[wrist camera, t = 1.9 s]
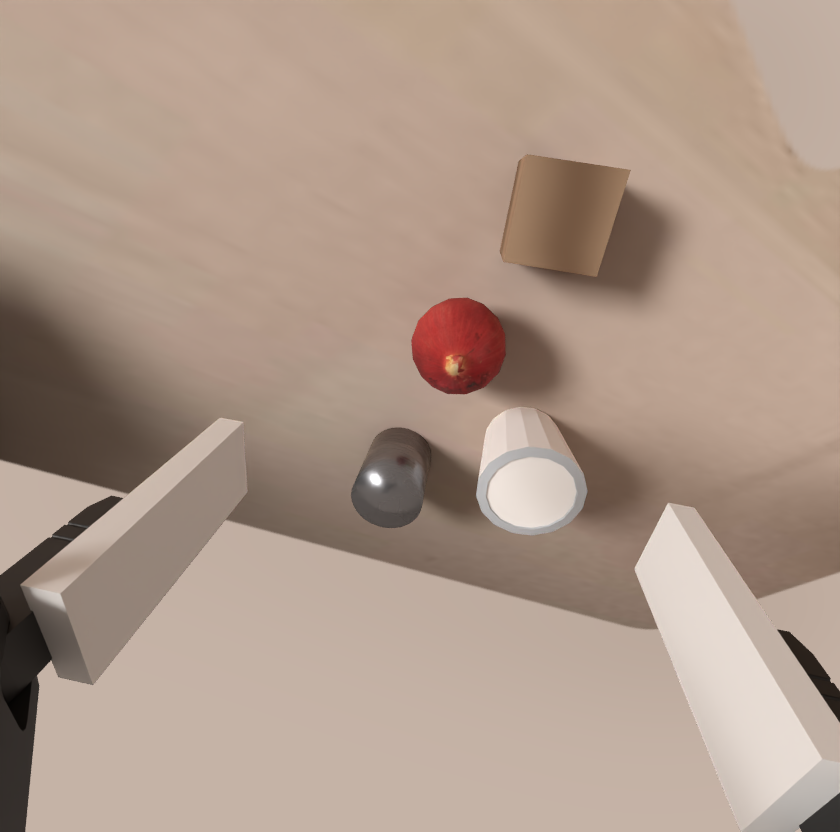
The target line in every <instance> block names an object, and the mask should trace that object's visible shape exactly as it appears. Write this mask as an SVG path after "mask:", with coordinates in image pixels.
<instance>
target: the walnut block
mask: <svg viewBox="0 0 840 832" xmlns="http://www.w3.org/2000/svg"><path fill="white" fill-rule="evenodd" d="M630 171H631V170H627V169H620V168H614V167H607V166H601V165H594V164H587V163H581V162H574V161H567V160H561V159H554V158H548V157H541V156H534V155H528V154H527V155H526V156H524V157H523V158H522V159H521V160H520V161H519V163H518V167H517V172H516V177H515V182H514V186H513V191H512V196H511V201H510V205H509V210H508V215H507V220H506V224H505V229H504V234H503V239H502V243H501V248H500V253H501V256H502V259H503V262H508V263H514V264H520V265H526V266H533V267H539V268H545V269H551V270H557V271H563V272H569V273H576V274H582V275H588V276H594V277H597V274H598V271H599V268H600V265H601V262H602V259H603V256H604V252H605V249H606V246H607V243H608V240H609V237H610V234H611V230H612V227H613V224H614V221H615V218H616V215H617V211H618V208H619V205H620V202H621V199H622V196H623V193H624V189H625V186H626V183H627V180H628V177H629V174H630Z"/></svg>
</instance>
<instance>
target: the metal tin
mask: <svg viewBox="0 0 840 832" xmlns="http://www.w3.org/2000/svg"><path fill="white" fill-rule="evenodd" d="M430 461H431V452H430V448H429V446H428V444H427V442H426V441H425V440H424V439H423V438H422V437H421V436H420V435H419V434H417V433H416V432H414V431H412V430H409V429H406V428H390V429H387V430H384V431H383V432H381V433H380V434H378V435H377V436H376V437H375V439H374V440H373V442H372V444H371V447H370V449H369V451H368V454H367V456H366V458H365V460H364V463H363V465H362V467H361V469H360V472H359V474H358V476H357V478H356V481H355V483H354V485H353V488H352V493H351V498H352V502H353V505H354V507H355V509H356V511H357V512H358V513H359V514H360V515H361V516H362V517H363V518H364V519H365V520H367V521H368V522H370V523H372V524H374V525H377V526H380V527H386V528H397V527H402V526H405V525H407V524H409V523H411V522H412V521H413V520H415V519H416V518H417V516H418V515H419V513H420V511H421V508H422V503H423V497H424V492H425V487H426V482H427V476H428V471H429V466H430Z"/></svg>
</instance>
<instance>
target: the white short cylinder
mask: <svg viewBox="0 0 840 832" xmlns="http://www.w3.org/2000/svg"><path fill="white" fill-rule="evenodd" d="M586 495H587V486H586V482H585V478H584V473H583V472H582V470H581V468H580V466H579V465H578V463H577V461H576V459H575V457H574V456H573V454H572V452H571V450H570V448H569V447H568V445H567V443H566V441H565V440H564V438H563V436H562V434H561V432H560V431H559V429H558V427H557V425H556V424H555V423H554V422H553V420H552V419H551V418H550V417H549V416H548V415H547V414H545V413H543V412H541V411H539V410H537V409H535V408H528V407H517V408H513V409H509V410H505V411H504V412H502V413H501V414H499V415H498V416H496V417H495V418H494V419H493V420H492V422H491V423H490V425H489V426H488V428H487V429H486V435H485V441H484V447H483V454H482V460H481V466H480V472H479V478H478V485H477V492H476V497H477V500H478V503H479V505H480V508H481V511H482V512H483V514H484V515H485V516H486V517H487V518H488V519H489V520H490V521H491V522H492V523H493V524H494V525H496V526H498V527H500V528H503V529H505V530H507V531H509V532H511V533H517V534H525V535H537V534H543V533H549V532H553V531H555V530H557V529H559V528H561V527H563V526H565V525H566V524H568V523H570V522H571V521H572V520H573V519H574V518H575V517H576V515H577V514H578V513H579V512H580V511H581V510H582V509H583V505H584V502H585V498H586Z"/></svg>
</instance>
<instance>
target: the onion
mask: <svg viewBox="0 0 840 832" xmlns="http://www.w3.org/2000/svg"><path fill="white" fill-rule="evenodd" d="M412 354H413V360H414V362H415V364H416V366H417V369H418V371H419V373H420V375H421V376H422V377H423V378H424V379H425V380H426V381H427V382H428V383H429V384H430V385H431V386H432V387H434V388H436V389H438V390H440V391H443V392H445V393H447V394H468V393H470V392H473V391H476V390H479V389H481V388H484V387H485V386H486V385H487V384H488V383H489V382H490V381H491V380H492V379H493V378H494V377H495V376H496V375H497V374H498V373H499V371H500V368H501V366H502V363H503V360H504V358H505V355H506V354H505V333H504V331H503V328H502V326H501V324H500V322H499V320H498V318H497V317H496V316H495V315H494V314H493V313H492V312H491V311H490V310H489V309H488V308H487V307H486V306H485V305H484V304H482V303H479V302H477V301H474V300H472V299H469V298H452V299H448V300H446V301H443V302H441V303H439V304H437V305H435V306H433V307H432V308H431V309H430V310H429V311H428V312H427V313H426V314H425V315H424V316H423V317H422V318H421V319H420V320H419V321H418V324H417V326H416V329H415V332H414V334H413V337H412Z"/></svg>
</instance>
